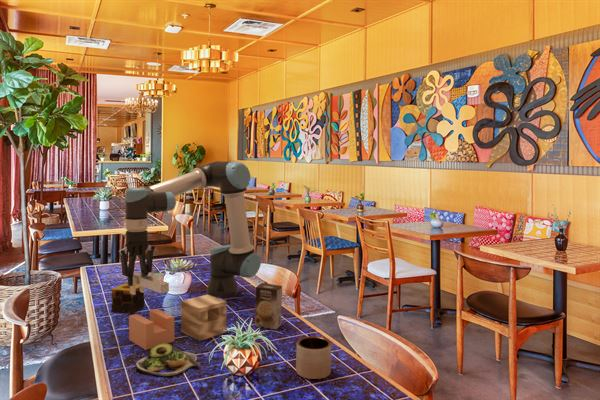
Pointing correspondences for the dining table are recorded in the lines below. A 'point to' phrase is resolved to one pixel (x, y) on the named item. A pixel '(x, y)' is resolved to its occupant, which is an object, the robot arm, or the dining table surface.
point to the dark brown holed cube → (127, 299)
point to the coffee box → (268, 306)
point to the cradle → (151, 329)
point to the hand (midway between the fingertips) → (137, 292)
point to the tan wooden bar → (151, 283)
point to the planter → (313, 357)
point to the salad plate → (166, 360)
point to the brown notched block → (203, 317)
